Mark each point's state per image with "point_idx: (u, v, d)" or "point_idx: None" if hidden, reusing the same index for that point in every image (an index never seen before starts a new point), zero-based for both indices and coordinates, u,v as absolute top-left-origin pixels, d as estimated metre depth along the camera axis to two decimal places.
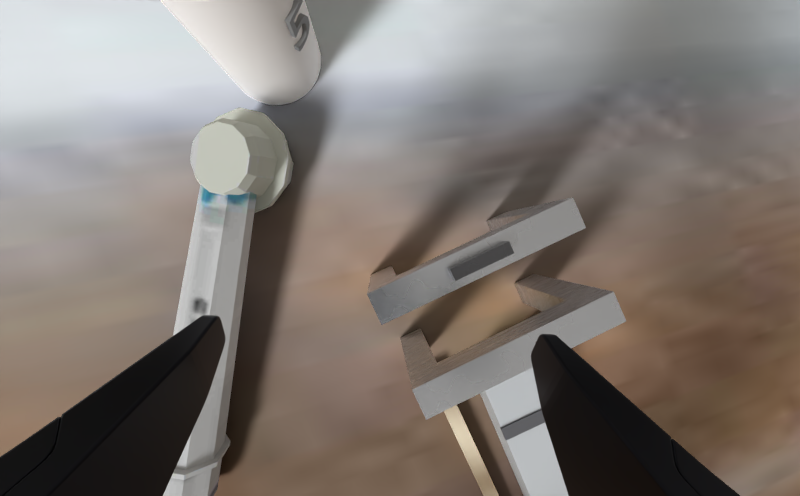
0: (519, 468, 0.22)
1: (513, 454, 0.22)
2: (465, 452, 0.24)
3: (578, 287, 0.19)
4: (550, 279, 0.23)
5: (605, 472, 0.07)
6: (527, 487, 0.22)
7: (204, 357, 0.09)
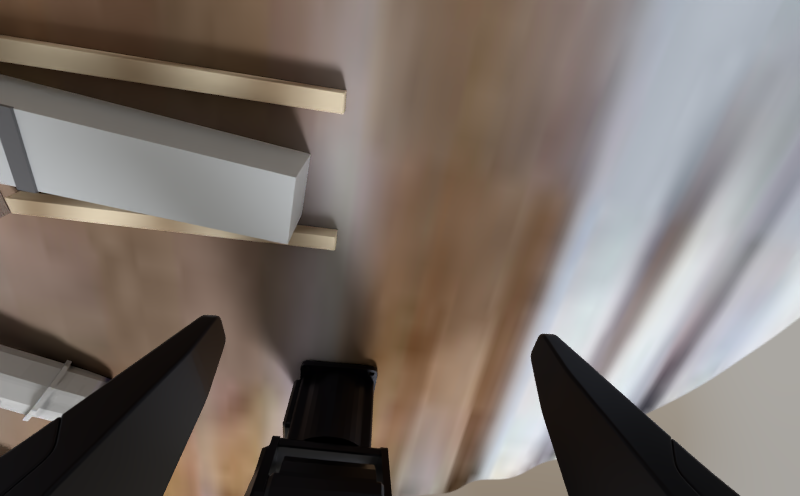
0: (86, 200, 0.17)
1: (63, 195, 0.17)
2: (124, 224, 0.21)
3: None
4: None
5: (605, 472, 0.07)
6: (114, 206, 0.18)
7: (204, 357, 0.09)
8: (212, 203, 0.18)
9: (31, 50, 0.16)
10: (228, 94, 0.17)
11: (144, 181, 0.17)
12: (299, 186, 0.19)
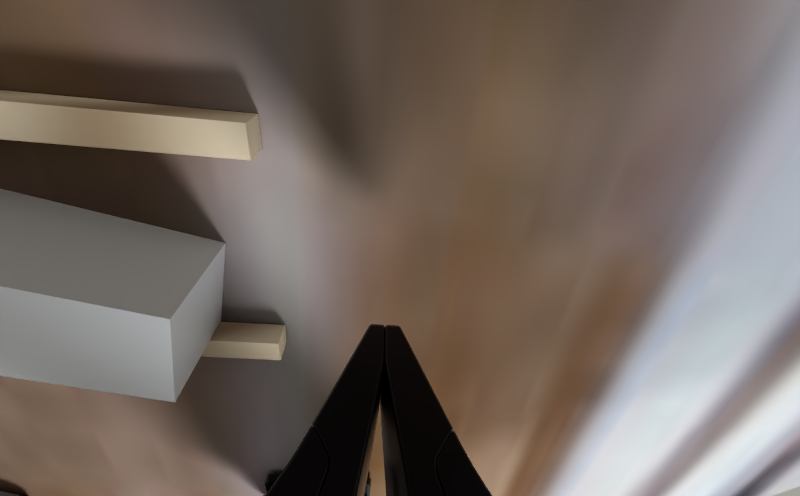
0: None
1: None
2: None
3: None
4: None
5: (393, 466, 0.07)
6: None
7: None
8: (25, 350, 0.10)
9: None
10: (27, 138, 0.09)
11: None
12: (194, 310, 0.11)
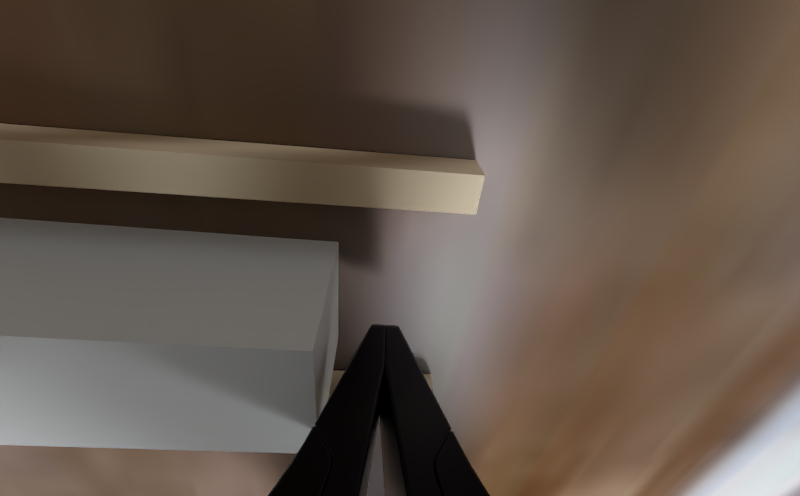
0: None
1: None
2: None
3: None
4: None
5: (392, 466, 0.07)
6: None
7: None
8: (142, 416, 0.08)
9: None
10: (232, 194, 0.08)
11: None
12: (325, 334, 0.08)
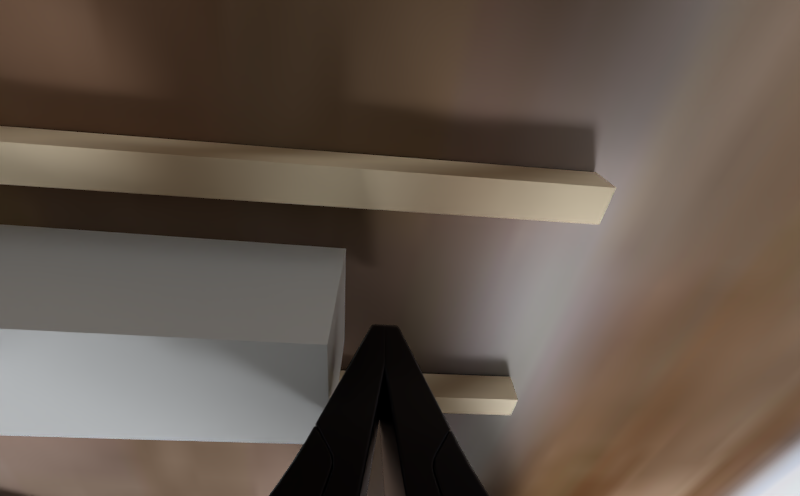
0: None
1: None
2: None
3: None
4: None
5: (391, 467, 0.07)
6: None
7: None
8: (164, 407, 0.08)
9: None
10: (372, 205, 0.08)
11: (14, 392, 0.08)
12: (336, 330, 0.09)
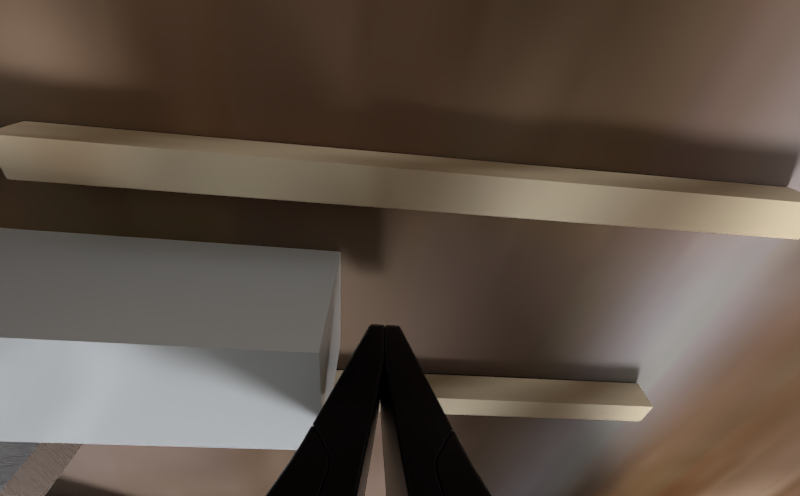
0: None
1: None
2: None
3: None
4: None
5: (393, 466, 0.07)
6: None
7: None
8: (155, 414, 0.08)
9: (210, 166, 0.08)
10: (586, 219, 0.08)
11: (4, 399, 0.08)
12: (329, 336, 0.09)
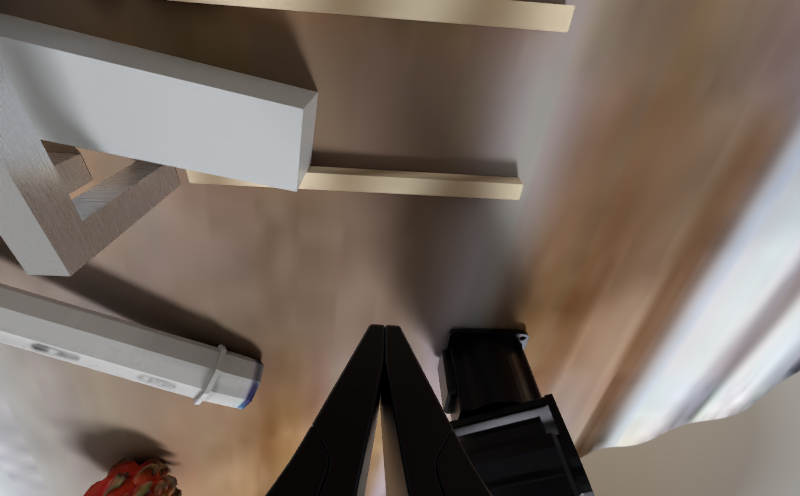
0: (72, 144, 0.16)
1: (46, 139, 0.15)
2: (302, 186, 0.20)
3: None
4: None
5: (393, 467, 0.07)
6: (103, 151, 0.16)
7: None
8: (211, 144, 0.16)
9: None
10: (444, 19, 0.15)
11: (134, 119, 0.15)
12: (307, 125, 0.17)
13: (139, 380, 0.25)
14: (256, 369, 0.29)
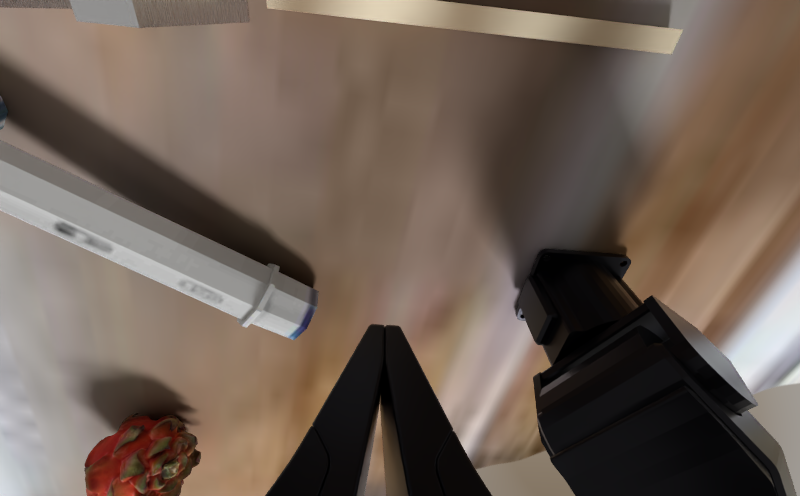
0: None
1: None
2: (409, 20, 0.16)
3: None
4: None
5: (393, 466, 0.07)
6: None
7: None
8: None
9: None
10: None
11: None
12: None
13: (180, 288, 0.20)
14: (311, 293, 0.24)
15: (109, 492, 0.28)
